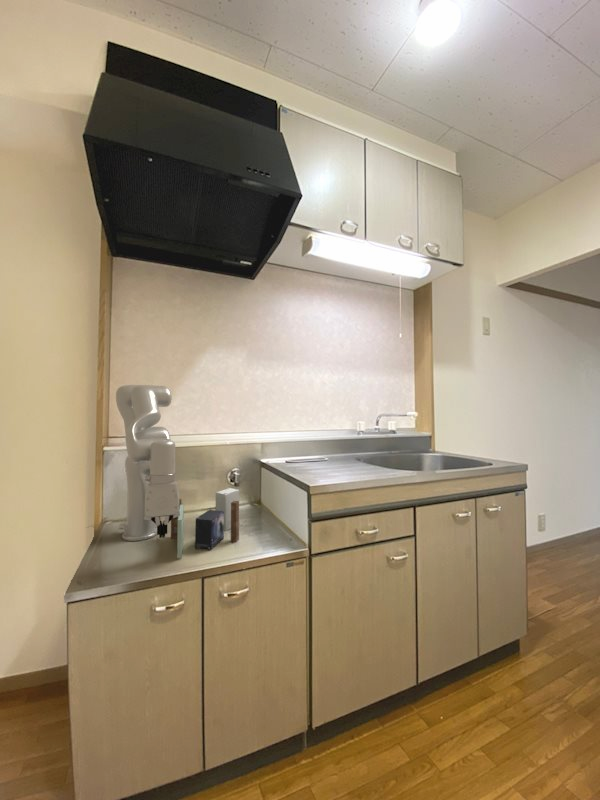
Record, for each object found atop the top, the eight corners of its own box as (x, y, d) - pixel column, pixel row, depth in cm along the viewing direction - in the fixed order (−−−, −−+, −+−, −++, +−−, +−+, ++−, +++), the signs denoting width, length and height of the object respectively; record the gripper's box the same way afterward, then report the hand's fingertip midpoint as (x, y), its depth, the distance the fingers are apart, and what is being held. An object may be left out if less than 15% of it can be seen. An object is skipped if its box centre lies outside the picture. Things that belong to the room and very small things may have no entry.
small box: (211, 551, 111) (211, 519, 111) (194, 549, 112) (194, 518, 112) (224, 538, 121) (225, 510, 122) (208, 537, 123) (208, 509, 123)
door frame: (170, 539, 121) (171, 500, 121) (174, 536, 124) (175, 498, 124) (236, 542, 118) (236, 503, 118) (238, 539, 121) (238, 500, 121)
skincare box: (229, 522, 138) (229, 487, 139) (240, 525, 135) (240, 489, 136) (214, 528, 131) (214, 491, 132) (225, 531, 128) (225, 493, 129)
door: (176, 536, 122) (176, 504, 122) (183, 535, 123) (183, 503, 123) (172, 558, 104) (172, 520, 104) (181, 557, 105) (181, 519, 105)
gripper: (135, 483, 100) (134, 544, 99) (187, 479, 105) (186, 537, 104) (138, 478, 107) (138, 535, 106) (187, 475, 112) (186, 529, 111)
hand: (162, 536), depth 105 cm, fingers closed
